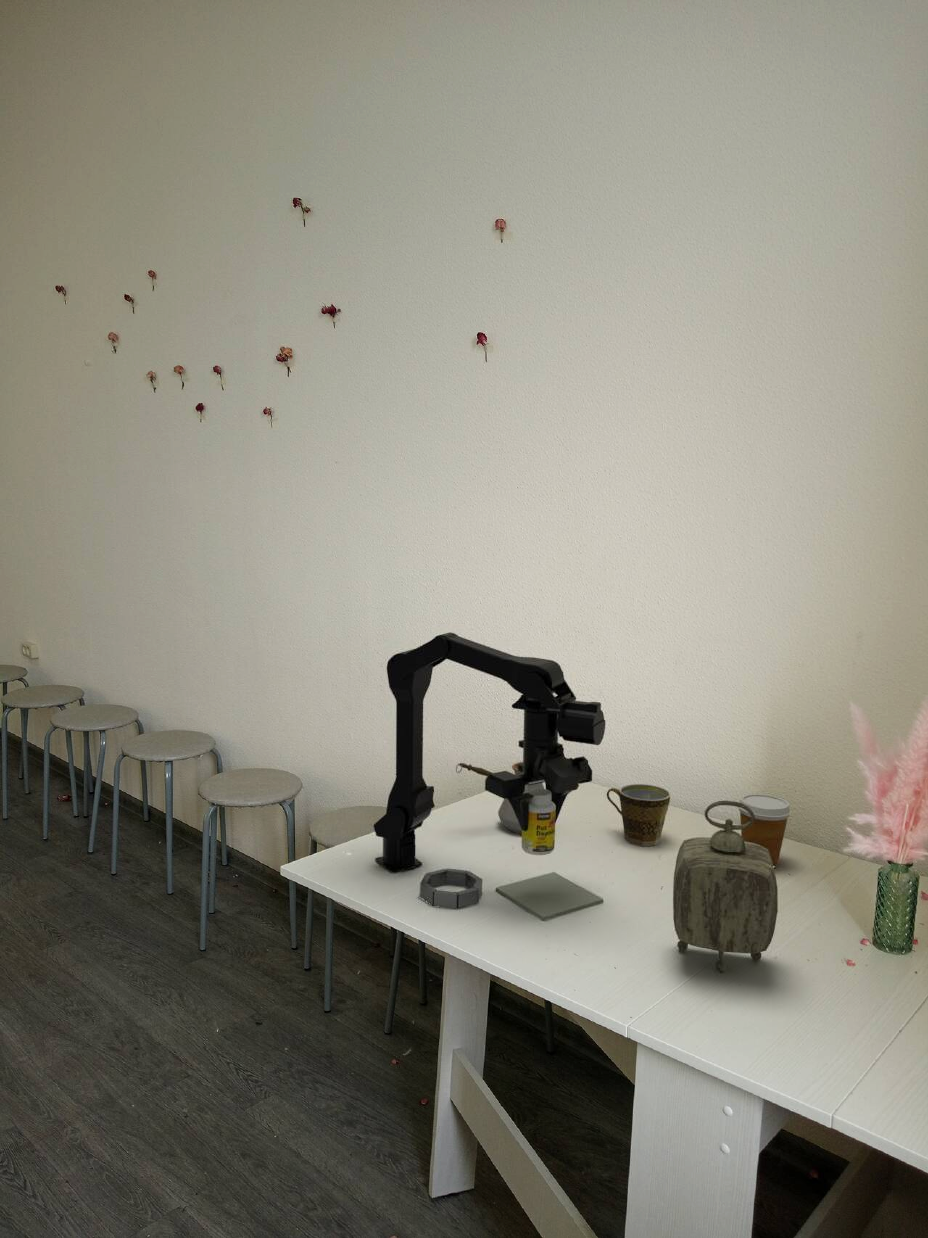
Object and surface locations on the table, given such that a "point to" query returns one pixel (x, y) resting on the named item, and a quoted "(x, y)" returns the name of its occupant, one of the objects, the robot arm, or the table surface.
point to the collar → (447, 897)
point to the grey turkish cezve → (505, 809)
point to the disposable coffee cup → (765, 822)
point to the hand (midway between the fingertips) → (538, 827)
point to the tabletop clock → (725, 892)
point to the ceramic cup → (642, 812)
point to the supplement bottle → (540, 824)
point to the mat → (549, 895)
